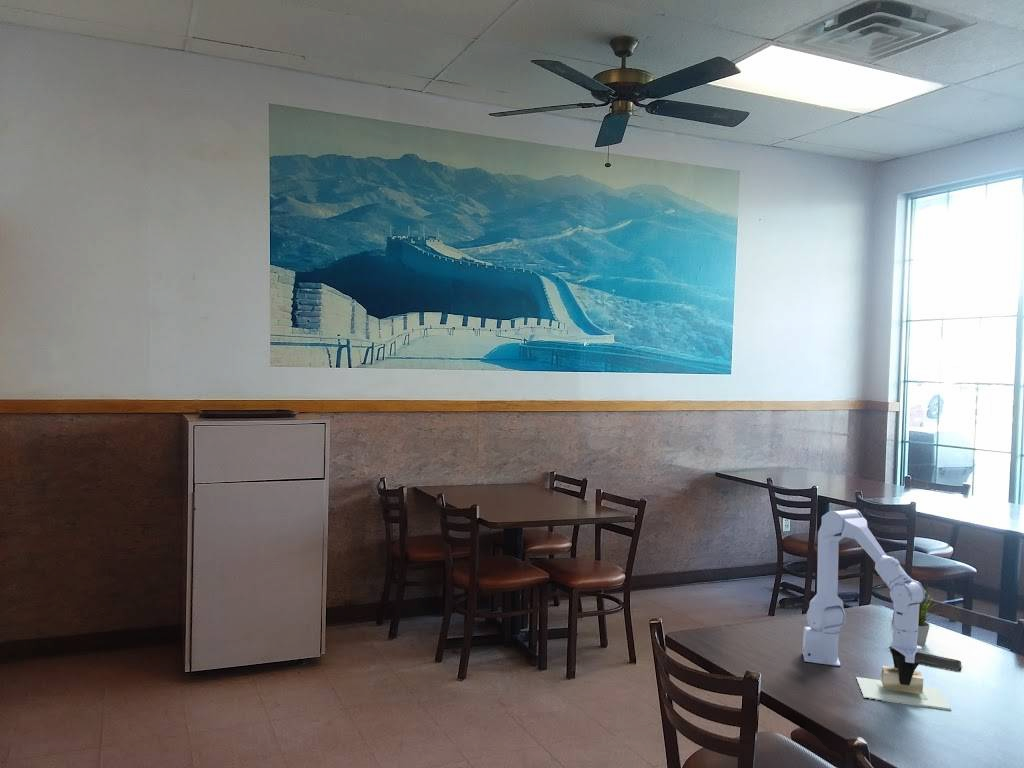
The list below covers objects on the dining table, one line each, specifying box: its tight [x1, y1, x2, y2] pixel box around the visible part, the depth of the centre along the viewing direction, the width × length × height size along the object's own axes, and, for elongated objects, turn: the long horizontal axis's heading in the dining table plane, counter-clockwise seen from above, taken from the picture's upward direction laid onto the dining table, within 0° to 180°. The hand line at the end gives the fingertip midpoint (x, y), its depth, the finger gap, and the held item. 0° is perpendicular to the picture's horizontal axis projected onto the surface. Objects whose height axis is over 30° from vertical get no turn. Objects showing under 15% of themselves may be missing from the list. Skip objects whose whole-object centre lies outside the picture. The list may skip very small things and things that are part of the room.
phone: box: [915, 651, 962, 672], centre depth 231 cm, size 8×1×15 cm
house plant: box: [917, 589, 940, 647], centre depth 247 cm, size 14×14×16 cm
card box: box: [881, 665, 924, 694], centre depth 207 cm, size 5×9×4 cm, turn 72°
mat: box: [855, 676, 952, 712], centre depth 208 cm, size 20×13×1 cm, turn 75°
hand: (902, 680), depth 207 cm, fingers closed on card box, 5 cm apart
